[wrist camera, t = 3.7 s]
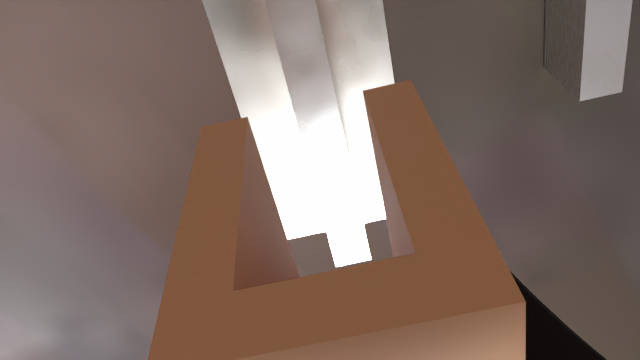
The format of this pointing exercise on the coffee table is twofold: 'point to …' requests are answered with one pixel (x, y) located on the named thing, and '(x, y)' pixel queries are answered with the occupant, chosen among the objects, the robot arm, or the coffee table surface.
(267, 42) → the rail
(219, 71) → the coffee table surface
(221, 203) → the clip
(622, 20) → the wooden toy block
